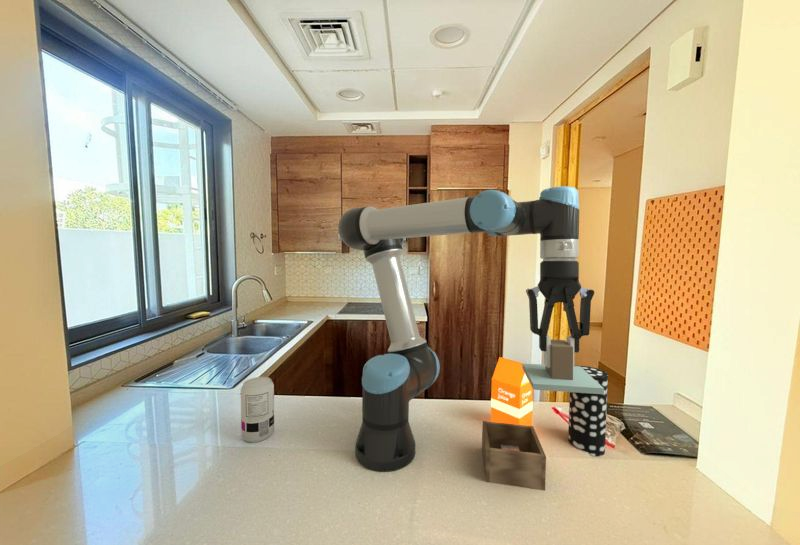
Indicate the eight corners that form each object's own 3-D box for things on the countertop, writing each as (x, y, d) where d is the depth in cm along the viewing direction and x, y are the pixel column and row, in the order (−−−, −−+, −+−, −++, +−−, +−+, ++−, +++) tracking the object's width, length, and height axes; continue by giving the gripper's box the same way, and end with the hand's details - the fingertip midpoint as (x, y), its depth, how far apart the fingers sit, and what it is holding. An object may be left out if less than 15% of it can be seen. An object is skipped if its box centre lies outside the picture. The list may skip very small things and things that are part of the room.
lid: (533, 389, 64) (533, 349, 64) (522, 368, 77) (522, 335, 76) (603, 394, 61) (604, 352, 61) (580, 371, 74) (580, 337, 74)
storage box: (485, 485, 67) (486, 449, 67) (481, 451, 79) (482, 420, 79) (544, 493, 65) (546, 456, 65) (532, 457, 77) (533, 426, 76)
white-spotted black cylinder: (610, 458, 77) (614, 378, 76) (574, 453, 79) (576, 375, 78) (596, 439, 85) (599, 367, 84) (563, 435, 87) (566, 364, 86)
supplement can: (234, 439, 83) (233, 384, 83) (259, 424, 91) (258, 374, 90) (257, 446, 80) (256, 389, 80) (280, 430, 88) (280, 378, 87)
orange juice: (518, 440, 84) (520, 367, 83) (490, 426, 91) (491, 359, 90) (532, 430, 89) (534, 361, 88) (504, 418, 96) (505, 354, 95)
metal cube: (502, 472, 70) (502, 454, 70) (500, 460, 74) (500, 444, 74) (521, 474, 70) (521, 457, 70) (517, 462, 74) (518, 446, 73)
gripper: (520, 260, 66) (520, 369, 67) (610, 259, 63) (609, 374, 63) (515, 260, 73) (515, 358, 74) (595, 259, 70) (594, 362, 71)
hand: (558, 365), depth 69 cm, fingers closed on lid, 4 cm apart
